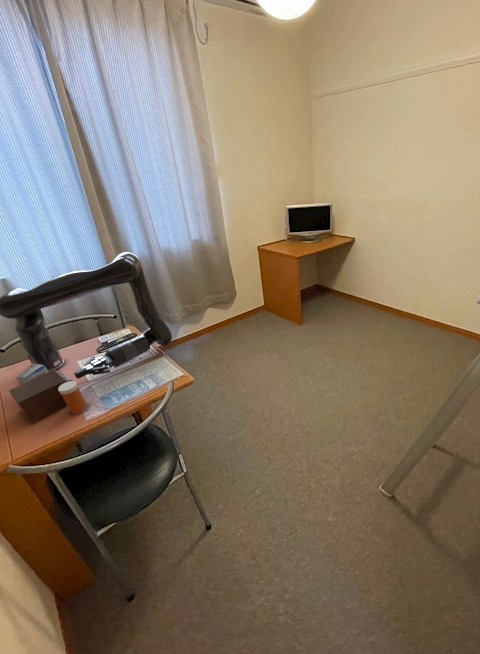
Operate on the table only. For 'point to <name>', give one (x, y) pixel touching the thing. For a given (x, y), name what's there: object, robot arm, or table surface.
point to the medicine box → (32, 373)
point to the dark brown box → (40, 396)
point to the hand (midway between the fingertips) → (75, 376)
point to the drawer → (64, 376)
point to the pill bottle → (73, 397)
